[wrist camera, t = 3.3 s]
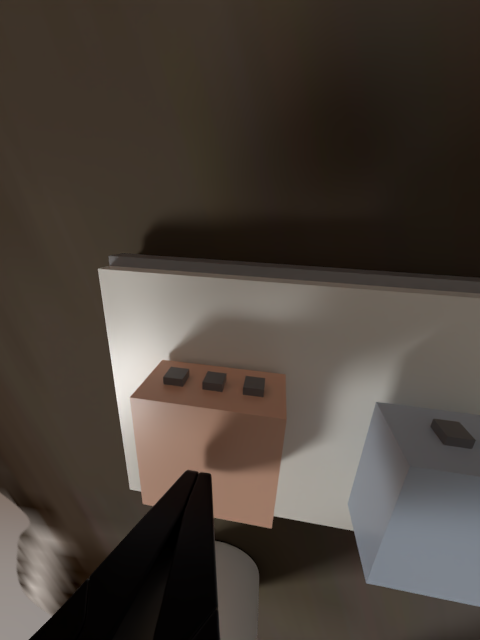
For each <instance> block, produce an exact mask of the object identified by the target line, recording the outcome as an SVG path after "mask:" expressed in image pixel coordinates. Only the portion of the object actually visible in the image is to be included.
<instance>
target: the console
mask: <svg viewBox="0 0 480 640" xmlns="http://www.w3.org/2000/svg"><path fill="white" fill-rule="evenodd" d="M109 263H110V266H107V267H103V268H99V269H98V273H99V280H100V287H101V293H102V300H103V307H104V314H105V321H106V328H107V335H108V342H109V348H110V355H111V362H112V369H113V376H114V383H115V390H116V397H117V403H118V410H119V417H120V424H121V431H122V438H123V445H124V451H125V458H126V465H127V472H128V479H129V486H130V489H131V490H136V491H141V485H140V477H139V469H138V460H137V452H136V444H135V436H134V428H133V420H132V412H131V404H130V396H131V395H132V394H133V393H134V392H135V391H136V390H137V388H138V387H139V386H140V385H141V384H142V383H143V382H144V380H145V379H146V378H147V377H148V376H149V375H150V373H151V372H152V371H153V370H154V369H155V368H156V367H157V365H158V364H159V363H160V362H161V361H162V360H169V361H177V362H186V363H194V364H203V365H211V366H219V367H228V368H236V369H245V370H253V371H261V372H270V373H278V374H285V375H286V414H287V420H286V428H285V435H284V442H283V450H282V457H281V464H280V472H279V479H278V486H277V494H276V501H275V508H274V516H276V517H281V518H287V519H292V520H298V521H303V522H308V523H314V524H319V525H325V526H330V527H335V528H341V529H346V530H351V531H354V529H353V525H352V521H351V516H350V512H349V508H348V500H349V497H350V493H351V490H352V486H353V483H354V479H355V475H356V472H357V468H358V465H359V461H360V458H361V454H362V450H363V447H364V443H365V440H366V436H367V432H368V429H369V425H370V422H371V418H372V415H373V411H374V407H375V404H376V402H381V403H389V404H397V405H405V406H413V407H421V408H429V409H437V410H444V411H452V412H460V413H468V414H476V415H480V278H477V277H463V276H448V275H434V274H419V273H404V272H390V271H375V270H360V269H346V268H331V267H316V266H302V265H287V264H272V263H258V262H243V261H228V260H214V259H199V258H185V257H170V256H155V255H141V254H126V253H121V254H116V255H111V256H109Z"/></svg>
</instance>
